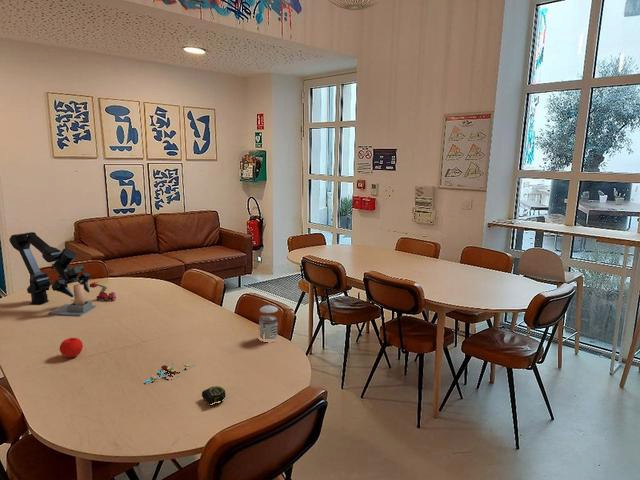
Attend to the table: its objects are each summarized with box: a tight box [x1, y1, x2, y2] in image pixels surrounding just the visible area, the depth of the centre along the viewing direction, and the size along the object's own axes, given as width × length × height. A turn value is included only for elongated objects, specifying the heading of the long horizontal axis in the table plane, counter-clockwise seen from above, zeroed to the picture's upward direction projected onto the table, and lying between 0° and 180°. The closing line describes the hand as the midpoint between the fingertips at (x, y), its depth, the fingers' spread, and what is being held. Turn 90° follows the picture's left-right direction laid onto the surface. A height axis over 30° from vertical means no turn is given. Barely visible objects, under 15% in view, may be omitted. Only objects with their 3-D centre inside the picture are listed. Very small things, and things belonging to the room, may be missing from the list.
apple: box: [58, 337, 84, 358], centre depth 169 cm, size 8×8×7 cm
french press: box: [258, 284, 279, 339], centre depth 190 cm, size 10×12×25 cm
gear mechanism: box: [143, 361, 191, 384], centre depth 158 cm, size 20×5×9 cm
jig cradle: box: [47, 300, 96, 317], centre depth 219 cm, size 16×14×4 cm
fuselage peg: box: [73, 283, 86, 306], centre depth 218 cm, size 4×4×12 cm
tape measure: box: [201, 385, 227, 406], centre depth 141 cm, size 7×7×4 cm
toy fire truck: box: [89, 281, 117, 302], centre depth 237 cm, size 3×14×10 cm, turn 84°
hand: (81, 294), depth 217 cm, fingers open, 9 cm apart
